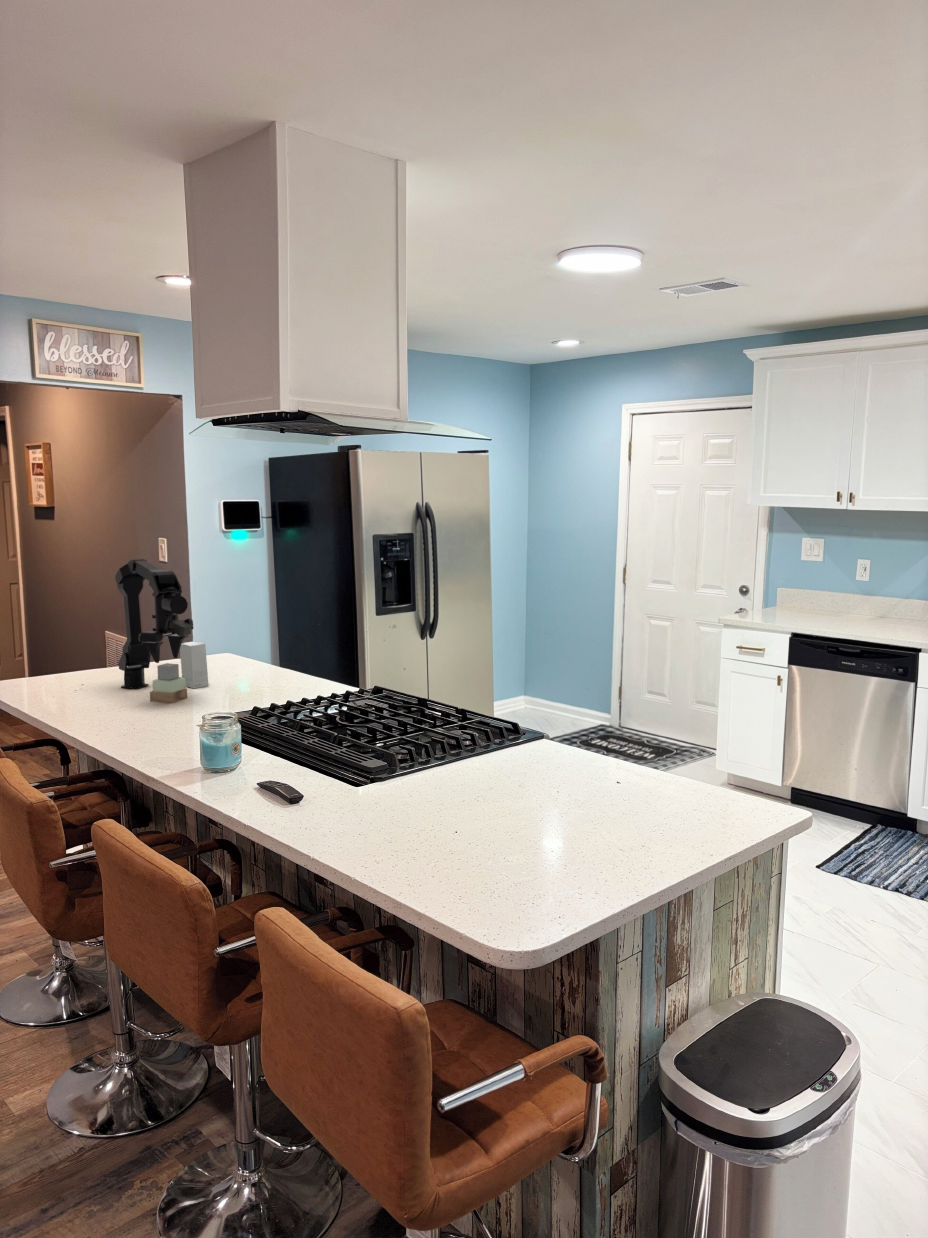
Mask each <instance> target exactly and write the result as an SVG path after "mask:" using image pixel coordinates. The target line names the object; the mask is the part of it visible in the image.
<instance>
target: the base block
mask: <svg viewBox="0 0 928 1238" xmlns="http://www.w3.org/2000/svg"><path fill="white" fill-rule="evenodd" d="M149 699H150V700H149V702H151V703H152V702H153V703H163V704H174V703H177V702H179V701H182V700H185V699H188V688H186V689H183V690H180V691H176V692H173V693H166V692H155V691H153V690H150V691H149Z"/></svg>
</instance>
